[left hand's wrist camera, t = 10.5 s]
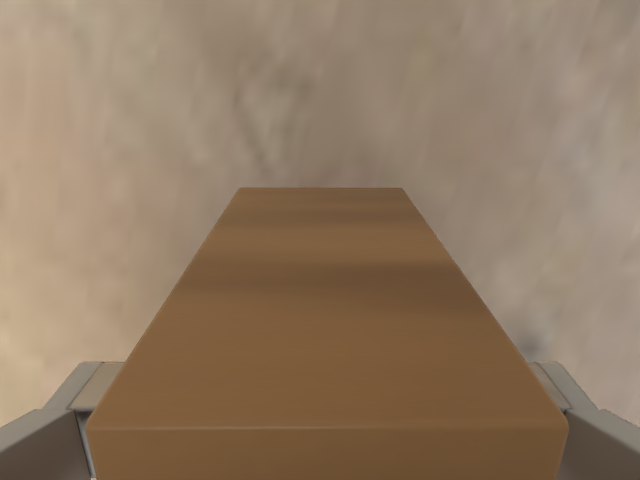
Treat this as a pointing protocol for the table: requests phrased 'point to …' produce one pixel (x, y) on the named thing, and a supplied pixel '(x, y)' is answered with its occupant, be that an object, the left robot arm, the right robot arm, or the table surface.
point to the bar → (325, 358)
